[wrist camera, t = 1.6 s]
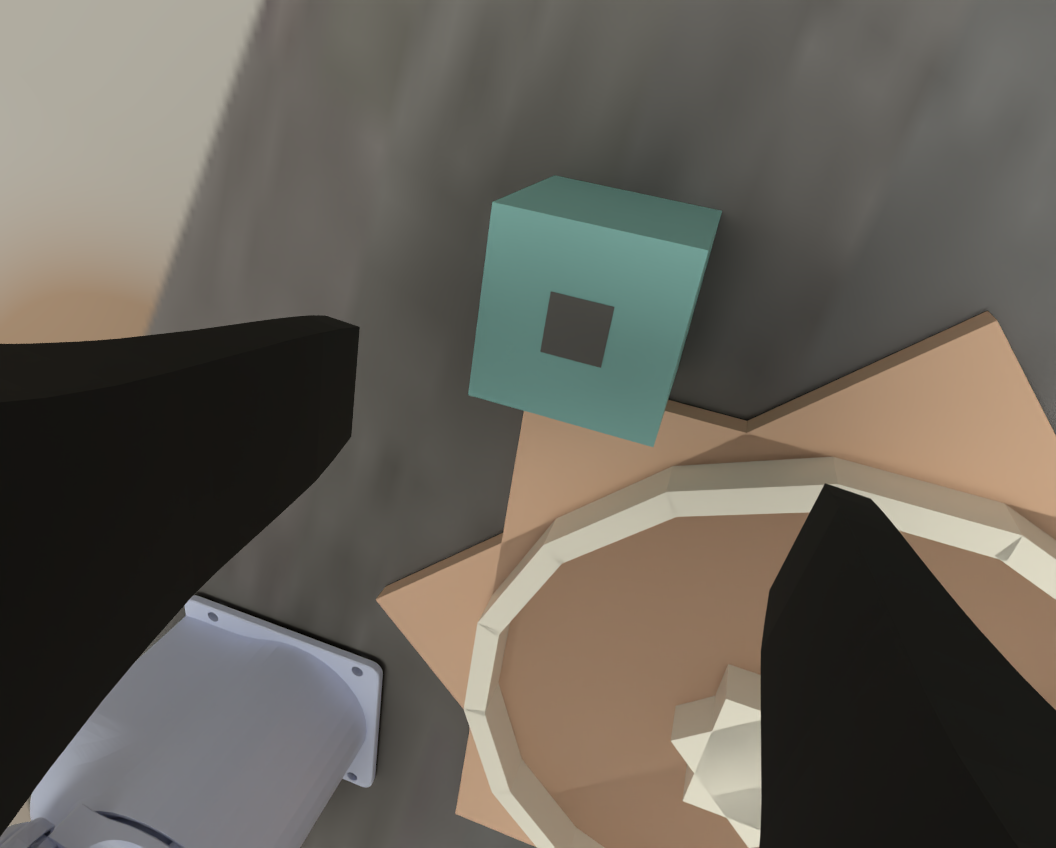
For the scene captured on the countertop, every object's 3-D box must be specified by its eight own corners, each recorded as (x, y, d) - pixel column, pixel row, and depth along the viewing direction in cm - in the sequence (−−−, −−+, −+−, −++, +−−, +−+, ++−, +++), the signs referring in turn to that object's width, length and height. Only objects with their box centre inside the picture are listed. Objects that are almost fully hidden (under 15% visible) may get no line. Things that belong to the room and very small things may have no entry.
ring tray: (368, 818, 34) (344, 863, 32) (414, 182, 20) (375, 193, 18) (1037, 1101, 28) (1057, 1177, 26) (1802, 493, 14) (1975, 561, 12)
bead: (529, 330, 21) (467, 394, 16) (555, 175, 19) (492, 202, 14) (677, 369, 20) (653, 448, 16) (722, 210, 18) (708, 250, 13)
